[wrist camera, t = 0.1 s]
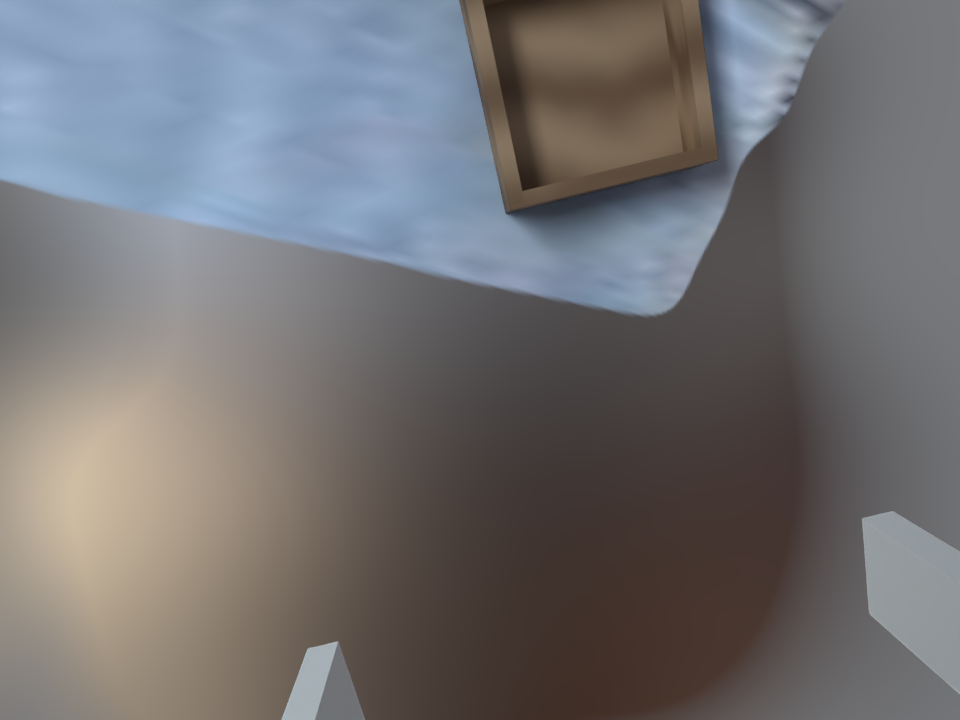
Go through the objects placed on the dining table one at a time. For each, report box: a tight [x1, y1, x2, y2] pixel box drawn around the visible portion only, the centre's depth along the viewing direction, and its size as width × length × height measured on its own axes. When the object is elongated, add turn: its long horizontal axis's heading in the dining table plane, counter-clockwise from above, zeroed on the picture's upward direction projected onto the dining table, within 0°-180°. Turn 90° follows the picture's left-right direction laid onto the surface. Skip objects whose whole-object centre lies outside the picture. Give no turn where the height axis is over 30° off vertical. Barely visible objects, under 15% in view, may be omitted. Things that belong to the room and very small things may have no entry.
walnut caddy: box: [460, 0, 718, 213], centre depth 34 cm, size 14×14×4 cm
